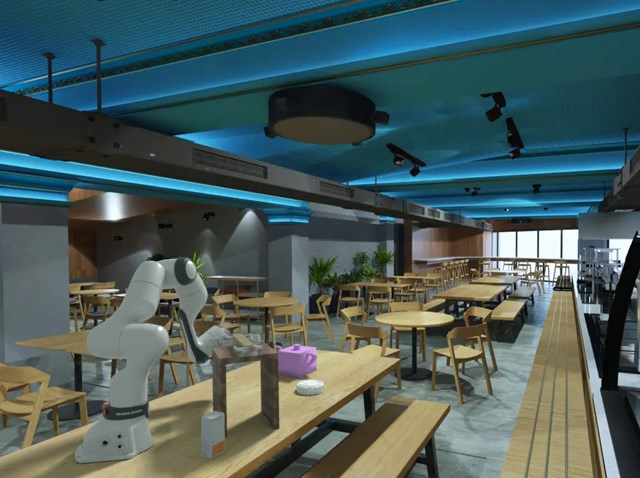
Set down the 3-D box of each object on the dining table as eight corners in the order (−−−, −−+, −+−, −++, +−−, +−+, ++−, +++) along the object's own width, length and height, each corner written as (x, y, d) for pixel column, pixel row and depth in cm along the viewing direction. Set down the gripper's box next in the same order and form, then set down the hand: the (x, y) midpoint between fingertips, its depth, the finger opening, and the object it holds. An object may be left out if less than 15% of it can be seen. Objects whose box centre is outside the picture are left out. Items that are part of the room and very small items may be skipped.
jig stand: (221, 438, 151) (220, 350, 152) (213, 419, 169) (211, 339, 169) (280, 429, 159) (278, 344, 159) (266, 411, 176) (265, 335, 176)
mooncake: (291, 393, 198) (291, 384, 198) (304, 385, 209) (304, 377, 209) (316, 396, 193) (316, 388, 193) (328, 388, 203) (328, 380, 203)
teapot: (284, 365, 243) (283, 339, 243) (324, 371, 230) (324, 343, 230) (266, 372, 230) (265, 344, 230) (308, 379, 217) (307, 349, 217)
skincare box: (211, 459, 137) (210, 419, 137) (201, 456, 139) (200, 416, 139) (225, 451, 142) (225, 412, 142) (215, 448, 144) (215, 410, 144)
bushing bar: (244, 356, 155) (243, 345, 155) (232, 343, 176) (232, 334, 176) (254, 355, 157) (254, 344, 157) (241, 342, 177) (241, 333, 177)
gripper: (205, 342, 186) (208, 330, 175) (255, 338, 193) (261, 326, 182) (206, 358, 183) (210, 346, 172) (257, 352, 190) (263, 341, 179)
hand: (237, 336), depth 177 cm, fingers open, 8 cm apart
